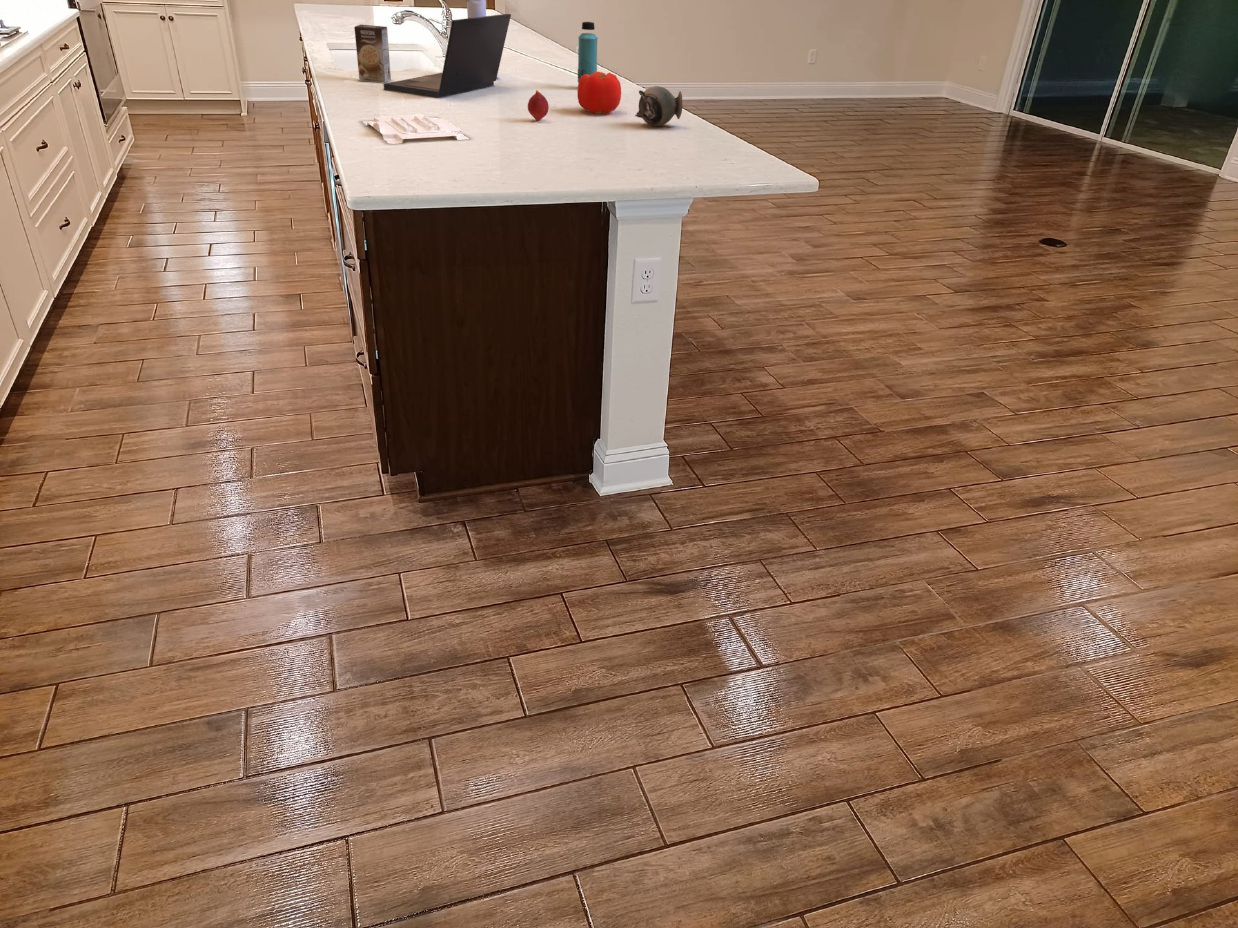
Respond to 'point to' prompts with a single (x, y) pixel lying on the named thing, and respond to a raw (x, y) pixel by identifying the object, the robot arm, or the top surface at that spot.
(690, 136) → the top surface
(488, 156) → the top surface
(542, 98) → the onion
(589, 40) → the beverage bottle
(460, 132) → the tray
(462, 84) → the laptop screen
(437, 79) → the laptop
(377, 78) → the coffee box
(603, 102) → the tomato
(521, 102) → the top surface
